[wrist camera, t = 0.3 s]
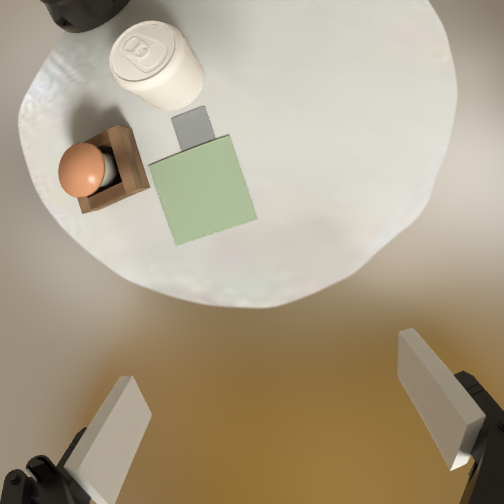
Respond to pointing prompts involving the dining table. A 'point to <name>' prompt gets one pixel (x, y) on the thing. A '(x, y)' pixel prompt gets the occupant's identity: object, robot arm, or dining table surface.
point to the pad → (203, 191)
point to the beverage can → (156, 65)
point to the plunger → (86, 170)
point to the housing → (127, 164)
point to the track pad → (193, 128)
